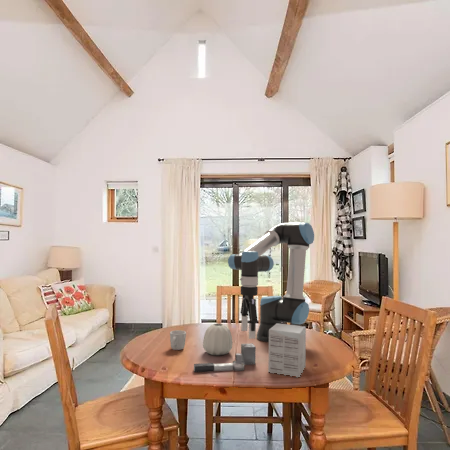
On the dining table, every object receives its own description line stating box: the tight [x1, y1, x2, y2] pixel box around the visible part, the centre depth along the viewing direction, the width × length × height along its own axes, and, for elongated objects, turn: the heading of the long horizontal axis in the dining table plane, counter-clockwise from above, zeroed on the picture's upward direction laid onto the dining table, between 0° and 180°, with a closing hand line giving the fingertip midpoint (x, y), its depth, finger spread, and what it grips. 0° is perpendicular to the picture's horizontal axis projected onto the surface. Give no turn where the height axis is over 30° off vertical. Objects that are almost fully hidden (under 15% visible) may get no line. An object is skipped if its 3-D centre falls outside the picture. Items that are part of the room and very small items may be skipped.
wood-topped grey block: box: [240, 342, 257, 366], centre depth 157 cm, size 5×5×8 cm
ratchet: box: [193, 352, 245, 373], centre depth 147 cm, size 21×5×6 cm, turn 101°
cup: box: [169, 329, 187, 351], centre depth 174 cm, size 11×8×8 cm
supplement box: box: [267, 323, 307, 378], centre depth 149 cm, size 13×13×18 cm
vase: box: [202, 323, 233, 356], centre depth 170 cm, size 14×14×13 cm
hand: (248, 334), depth 157 cm, fingers open, 13 cm apart
